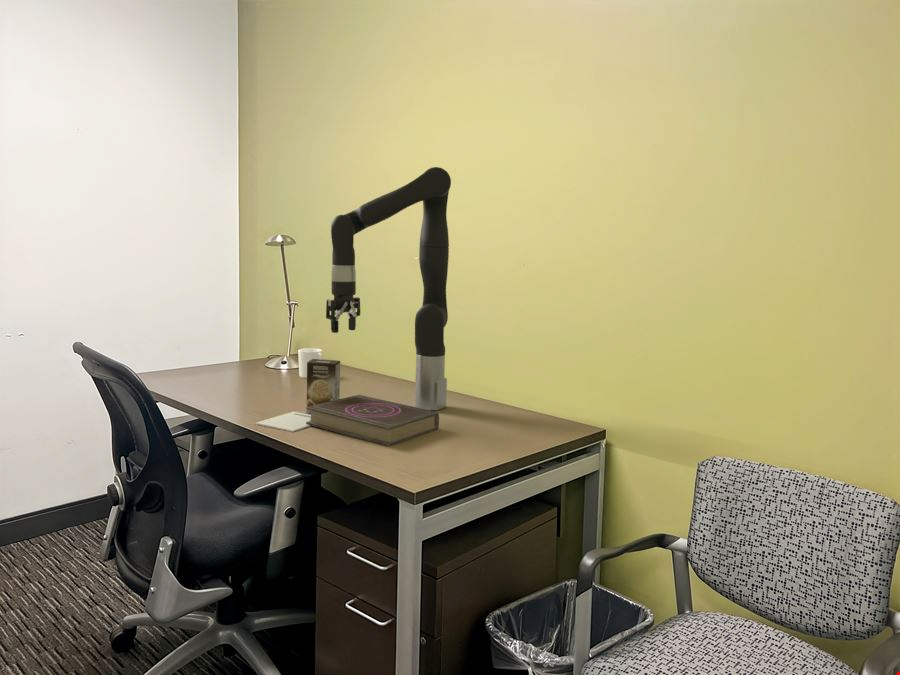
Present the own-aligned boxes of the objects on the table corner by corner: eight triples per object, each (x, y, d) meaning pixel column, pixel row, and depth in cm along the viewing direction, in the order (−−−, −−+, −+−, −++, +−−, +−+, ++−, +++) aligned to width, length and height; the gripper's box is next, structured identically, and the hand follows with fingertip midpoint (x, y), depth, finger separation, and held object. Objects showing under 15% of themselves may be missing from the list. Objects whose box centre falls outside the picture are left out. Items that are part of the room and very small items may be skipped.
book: (306, 424, 197) (306, 407, 196) (359, 409, 215) (359, 394, 214) (388, 446, 179) (388, 427, 179) (438, 428, 197) (439, 411, 197)
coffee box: (305, 414, 209) (305, 362, 207) (311, 409, 215) (311, 358, 213) (335, 416, 208) (335, 363, 206) (340, 410, 215) (340, 359, 212)
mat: (329, 419, 204) (329, 418, 204) (292, 432, 190) (293, 430, 190) (293, 412, 210) (293, 411, 210) (255, 424, 196) (255, 422, 196)
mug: (293, 376, 264) (293, 350, 263) (310, 373, 271) (310, 347, 270) (313, 380, 258) (313, 353, 256) (330, 377, 265) (330, 350, 264)
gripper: (338, 281, 208) (338, 334, 210) (367, 279, 220) (366, 330, 222) (319, 280, 211) (319, 332, 214) (348, 278, 224) (348, 328, 226)
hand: (343, 331), depth 218 cm, fingers open, 8 cm apart
